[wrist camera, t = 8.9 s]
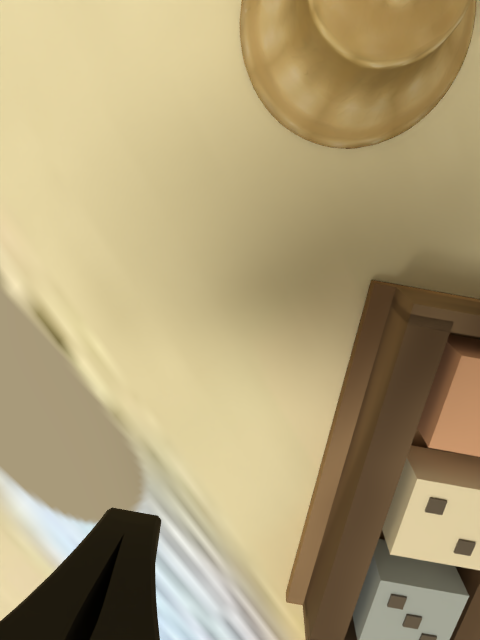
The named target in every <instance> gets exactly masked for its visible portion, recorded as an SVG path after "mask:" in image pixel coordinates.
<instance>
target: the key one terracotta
mask: <svg viewBox="0 0 480 640" xmlns="http://www.w3.org/2000/svg"><path fill="white" fill-rule="evenodd" d="M417 429H418V430H419V432H420V434H421V435H422V437H423V439H424V441H425V442H426V444H427V446H428V448H433V449H439V450H444V451H450V452H456V453H461V454H467V455H472V456H478V457H480V340H478V339H473V338H467V337H462V336H456V335H451V334H449V337H448V340H447V343H446V346H445V349H444V351H443V354H442V357H441V360H440V363H439V366H438V369H437V372H436V375H435V378H434V380H433V383H432V386H431V389H430V392H429V395H428V398H427V401H426V404H425V407H424V409H423V412H422V415H421V418H420V421H419V424H418V427H417Z"/></svg>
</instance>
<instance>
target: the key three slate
mask: <svg viewBox="0 0 480 640" xmlns="http://www.w3.org/2000/svg"><path fill="white" fill-rule="evenodd" d="M468 598H469V594H468V592H467V590H466V588H465V586H464V584H463V582H462V580H461V577H460V575H459V573H458V571H457V569H456V567H455V566H452V565H447V564H441V563H435V562H430V561H424V560H418V559H413V558H407V557H402V556H396V555H390V553H389V550H388V546H387V543H386V540H383V539H379V540H378V543H377V546H376V549H375V552H374V554H373V557H372V560H371V563H370V566H369V569H368V572H367V575H366V578H365V581H364V583H363V586H362V589H361V592H360V595H359V598H358V601H357V604H356V607H355V610H354V612H353V621H354V626H355V631H356V636H357V640H450V638H451V635H452V633H453V631H454V629H455V627H456V624H457V622H458V620H459V618H460V616H461V613H462V611H463V609H464V607H465V604H466V602H467V600H468Z"/></svg>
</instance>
